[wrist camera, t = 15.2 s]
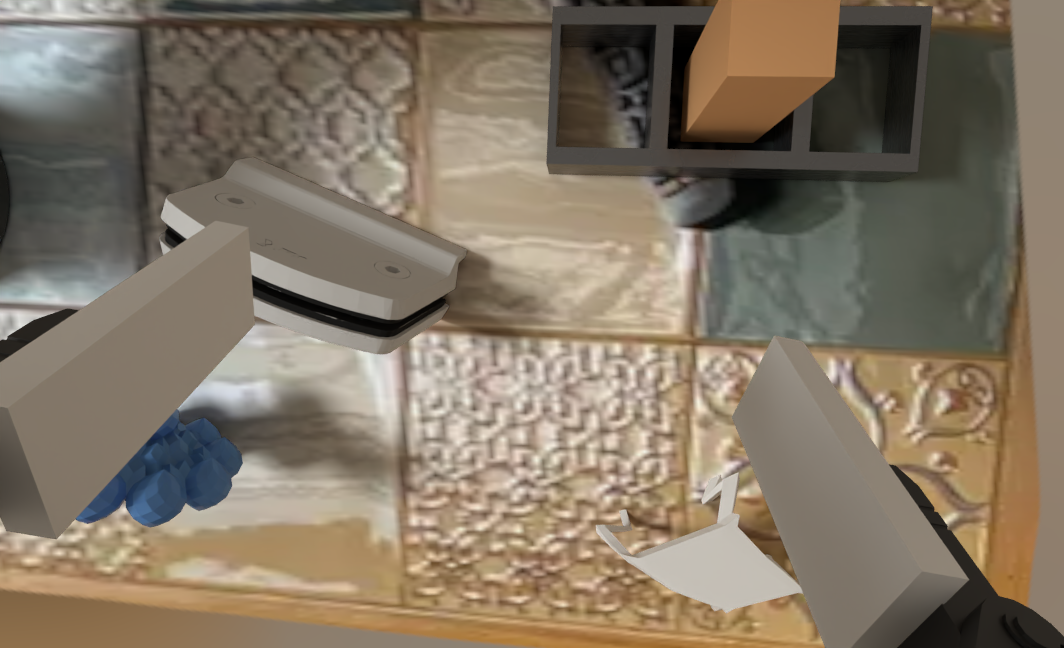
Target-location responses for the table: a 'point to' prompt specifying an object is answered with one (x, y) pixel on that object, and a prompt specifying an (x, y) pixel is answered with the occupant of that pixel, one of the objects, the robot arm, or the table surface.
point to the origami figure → (711, 558)
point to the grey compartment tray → (792, 134)
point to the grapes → (170, 474)
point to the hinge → (323, 257)
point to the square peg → (756, 66)
